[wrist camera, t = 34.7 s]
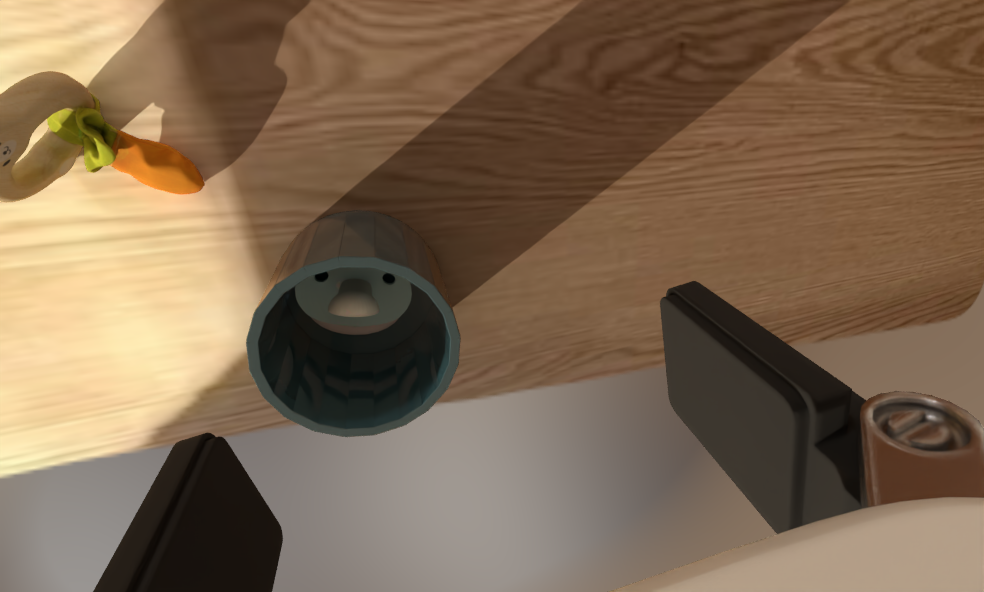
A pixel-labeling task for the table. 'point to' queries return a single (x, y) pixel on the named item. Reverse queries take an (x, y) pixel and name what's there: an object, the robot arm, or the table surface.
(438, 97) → the table surface
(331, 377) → the cup
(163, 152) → the rattle
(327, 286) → the pacifier
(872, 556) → the robot arm
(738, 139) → the table surface
